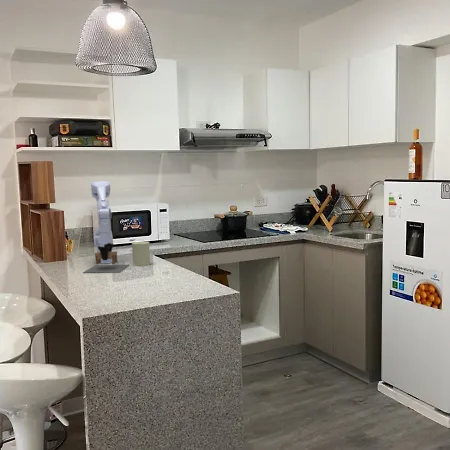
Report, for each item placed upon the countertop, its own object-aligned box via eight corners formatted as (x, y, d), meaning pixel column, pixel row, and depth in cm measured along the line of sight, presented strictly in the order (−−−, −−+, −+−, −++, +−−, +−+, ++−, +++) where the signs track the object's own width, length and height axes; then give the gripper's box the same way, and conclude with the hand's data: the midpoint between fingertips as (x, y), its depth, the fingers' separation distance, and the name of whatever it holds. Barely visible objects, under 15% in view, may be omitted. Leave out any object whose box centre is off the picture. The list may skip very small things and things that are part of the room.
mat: (95, 265, 267) (95, 265, 267) (129, 265, 266) (129, 264, 266) (83, 273, 247) (82, 272, 247) (119, 272, 246) (119, 271, 246)
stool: (117, 262, 259) (117, 251, 258) (115, 263, 254) (114, 252, 253) (98, 262, 259) (97, 251, 259) (95, 264, 254) (94, 253, 254)
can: (133, 266, 262) (132, 243, 261) (131, 263, 271) (130, 241, 270) (151, 265, 265) (150, 242, 264) (149, 262, 274) (148, 240, 273)
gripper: (101, 230, 262) (102, 257, 264) (92, 234, 248) (94, 261, 249) (115, 230, 262) (116, 256, 263) (107, 233, 248) (108, 261, 249)
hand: (106, 259), depth 256 cm, fingers closed on stool, 5 cm apart
